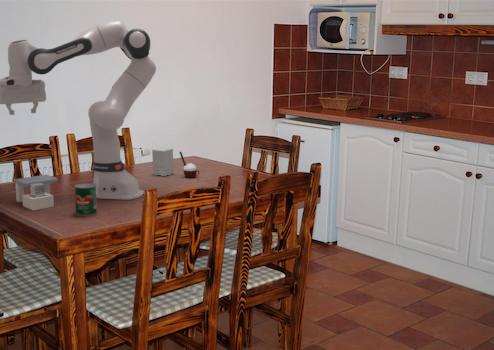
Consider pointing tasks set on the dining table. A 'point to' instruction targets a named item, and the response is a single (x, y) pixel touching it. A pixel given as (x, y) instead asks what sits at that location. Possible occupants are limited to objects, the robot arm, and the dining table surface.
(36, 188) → the metal peg
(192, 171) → the cocoa
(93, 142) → the robot arm
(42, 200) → the awning stand
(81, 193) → the canned tomato
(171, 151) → the grey fluted block
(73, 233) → the dining table surface
